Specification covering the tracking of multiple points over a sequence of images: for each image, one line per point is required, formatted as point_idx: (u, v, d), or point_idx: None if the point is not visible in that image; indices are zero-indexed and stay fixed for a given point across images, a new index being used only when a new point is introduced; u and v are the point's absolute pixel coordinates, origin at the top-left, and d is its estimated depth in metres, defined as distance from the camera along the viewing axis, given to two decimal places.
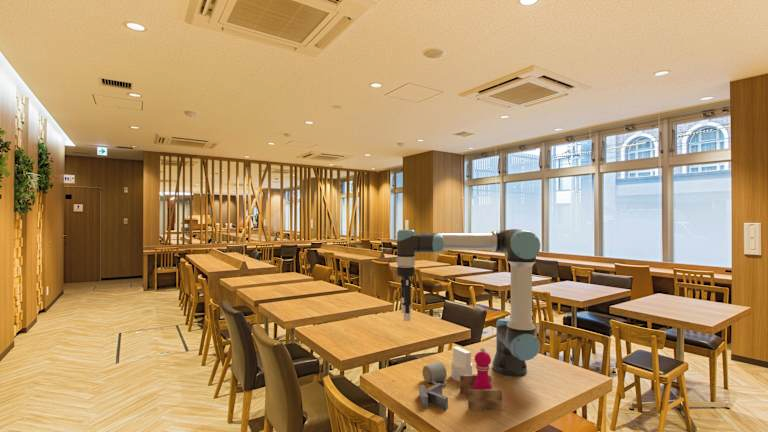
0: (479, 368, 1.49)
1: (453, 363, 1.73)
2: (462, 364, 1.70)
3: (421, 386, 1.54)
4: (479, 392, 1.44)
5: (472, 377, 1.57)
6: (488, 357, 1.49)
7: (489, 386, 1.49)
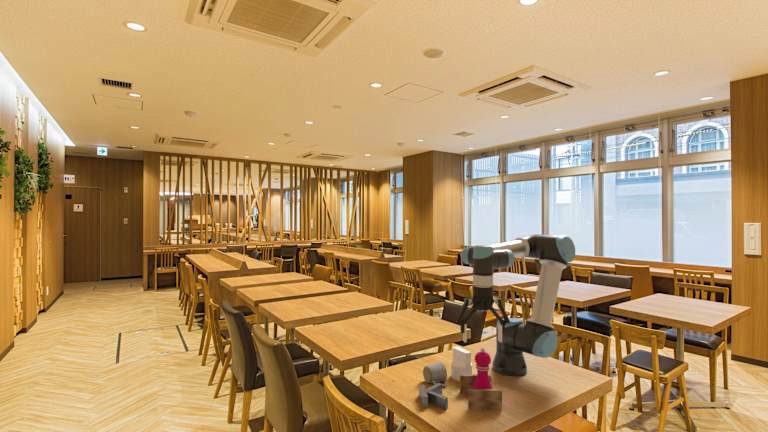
0: (479, 368, 1.49)
1: (453, 363, 1.73)
2: (462, 364, 1.70)
3: (421, 386, 1.54)
4: (479, 392, 1.44)
5: (472, 377, 1.57)
6: (488, 357, 1.49)
7: (489, 386, 1.49)
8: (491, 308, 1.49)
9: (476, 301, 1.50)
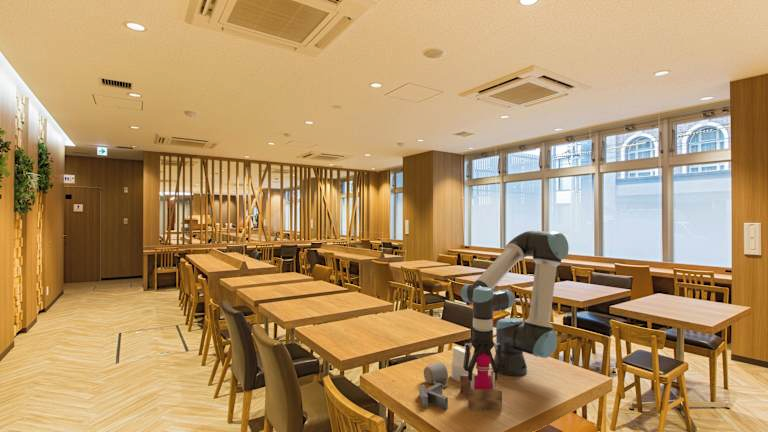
0: (479, 368, 1.49)
1: (453, 363, 1.73)
2: (462, 364, 1.70)
3: (421, 386, 1.54)
4: (479, 392, 1.44)
5: None
6: (488, 357, 1.49)
7: (489, 386, 1.49)
8: (489, 352, 1.49)
9: (476, 344, 1.50)
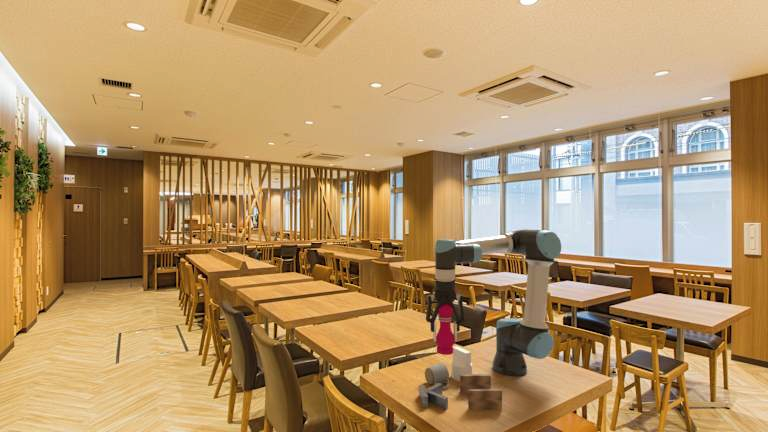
0: (441, 319, 1.49)
1: (453, 363, 1.73)
2: (462, 364, 1.70)
3: (421, 386, 1.54)
4: (479, 392, 1.44)
5: (472, 377, 1.57)
6: (450, 308, 1.49)
7: (451, 337, 1.48)
8: (451, 303, 1.49)
9: (438, 295, 1.49)
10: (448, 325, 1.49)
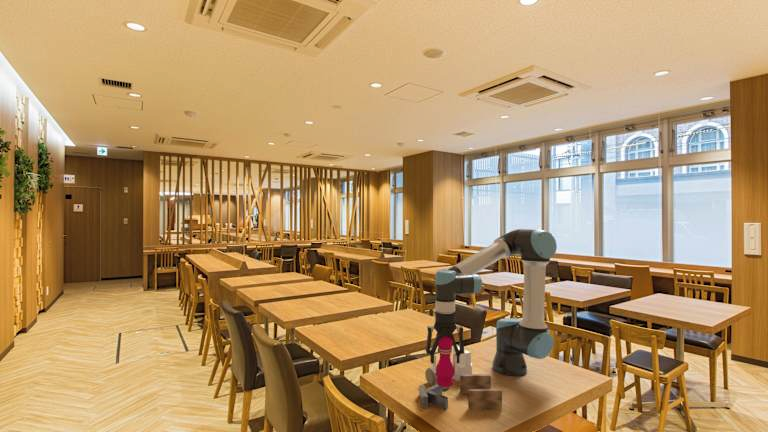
0: (441, 351, 1.49)
1: None
2: (462, 364, 1.70)
3: (421, 386, 1.54)
4: (479, 392, 1.44)
5: (472, 377, 1.57)
6: (450, 340, 1.49)
7: (451, 369, 1.48)
8: (451, 335, 1.49)
9: (438, 327, 1.49)
10: (448, 357, 1.49)
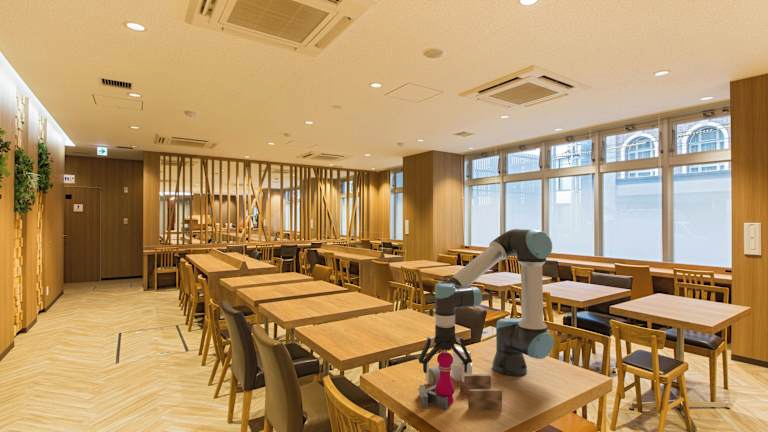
0: (441, 368, 1.49)
1: (453, 363, 1.73)
2: None
3: (421, 386, 1.54)
4: (479, 392, 1.44)
5: (472, 377, 1.57)
6: (450, 357, 1.49)
7: (451, 386, 1.48)
8: (453, 348, 1.49)
9: (438, 341, 1.49)
10: (448, 374, 1.49)
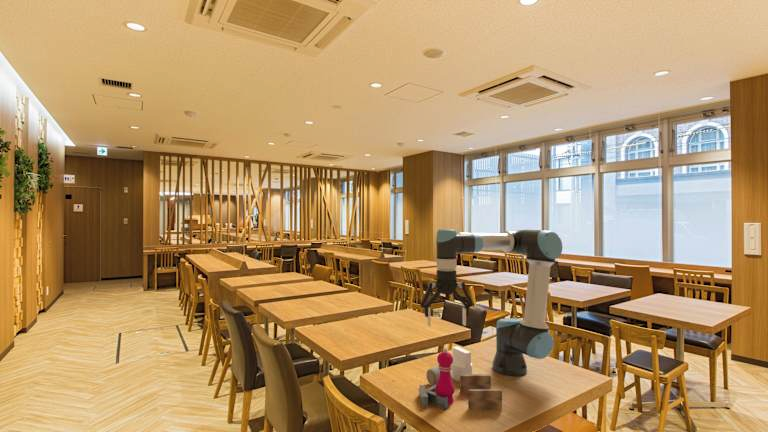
0: (441, 368, 1.49)
1: (453, 363, 1.73)
2: (462, 364, 1.70)
3: (421, 386, 1.54)
4: (479, 392, 1.44)
5: (472, 377, 1.57)
6: (450, 357, 1.49)
7: (451, 386, 1.48)
8: (454, 292, 1.50)
9: (440, 285, 1.50)
10: (448, 374, 1.49)
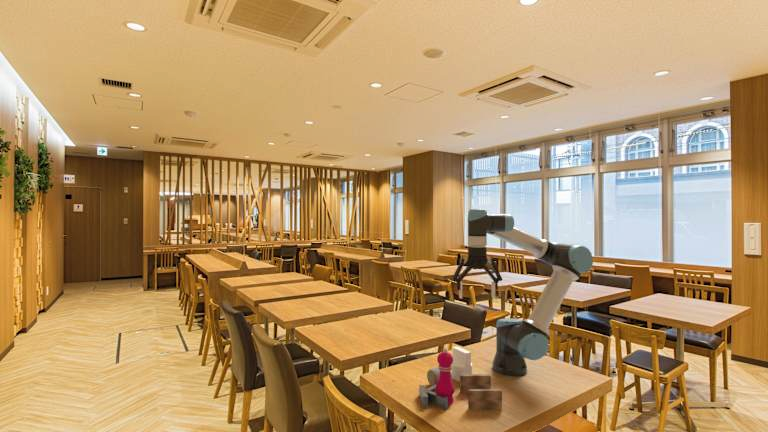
0: (441, 368, 1.49)
1: (453, 363, 1.73)
2: (462, 364, 1.70)
3: (421, 386, 1.54)
4: (479, 392, 1.44)
5: (472, 377, 1.57)
6: (450, 357, 1.49)
7: (451, 386, 1.48)
8: (485, 267, 1.62)
9: (471, 260, 1.62)
10: (448, 374, 1.49)
